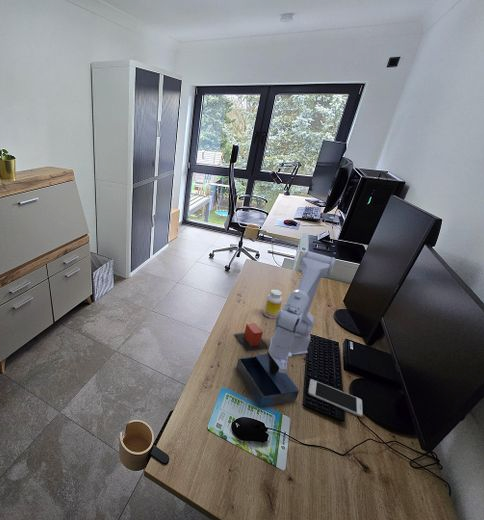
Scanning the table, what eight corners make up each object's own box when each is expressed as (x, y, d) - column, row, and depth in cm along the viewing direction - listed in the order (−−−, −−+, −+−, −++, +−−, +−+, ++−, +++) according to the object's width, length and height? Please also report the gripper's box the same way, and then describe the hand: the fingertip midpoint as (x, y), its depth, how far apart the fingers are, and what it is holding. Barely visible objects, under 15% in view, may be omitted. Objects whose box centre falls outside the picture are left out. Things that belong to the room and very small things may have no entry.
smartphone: (309, 380, 105) (310, 378, 105) (361, 401, 98) (362, 399, 97) (307, 394, 100) (308, 392, 99) (361, 417, 92) (362, 415, 92)
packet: (252, 335, 126) (255, 322, 122) (259, 345, 120) (263, 332, 117) (243, 336, 125) (246, 323, 122) (250, 346, 120) (254, 333, 117)
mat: (255, 332, 128) (256, 331, 128) (268, 348, 119) (268, 347, 119) (234, 335, 126) (235, 334, 126) (246, 351, 118) (246, 350, 117)
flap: (269, 353, 109) (269, 353, 109) (298, 391, 94) (299, 390, 94) (254, 355, 108) (254, 355, 108) (281, 393, 93) (281, 393, 93)
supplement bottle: (279, 319, 136) (285, 297, 131) (264, 317, 138) (270, 295, 132) (275, 311, 142) (282, 289, 136) (261, 309, 143) (267, 287, 138)
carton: (266, 364, 112) (269, 354, 109) (294, 402, 97) (298, 391, 95) (236, 368, 110) (238, 358, 107) (259, 408, 95) (263, 397, 93)
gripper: (301, 360, 88) (290, 391, 94) (289, 329, 100) (280, 358, 107) (276, 357, 89) (267, 387, 95) (267, 326, 102) (260, 355, 108)
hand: (272, 371), depth 101 cm, fingers closed
